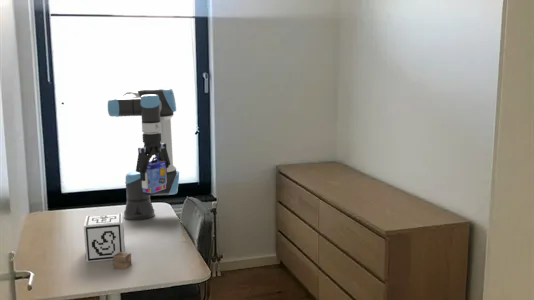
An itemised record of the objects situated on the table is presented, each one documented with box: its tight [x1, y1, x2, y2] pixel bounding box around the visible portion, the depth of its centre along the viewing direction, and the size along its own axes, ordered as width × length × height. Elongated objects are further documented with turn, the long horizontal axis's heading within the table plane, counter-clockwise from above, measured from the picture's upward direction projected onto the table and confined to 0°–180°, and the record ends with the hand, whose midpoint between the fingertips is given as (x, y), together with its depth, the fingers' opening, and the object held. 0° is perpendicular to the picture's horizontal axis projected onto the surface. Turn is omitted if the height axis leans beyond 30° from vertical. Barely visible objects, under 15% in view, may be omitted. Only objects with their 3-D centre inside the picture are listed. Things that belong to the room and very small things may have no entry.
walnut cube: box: [112, 251, 132, 270], centre depth 229 cm, size 5×5×5 cm
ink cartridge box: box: [143, 156, 166, 194], centre depth 243 cm, size 10×6×14 cm, turn 152°
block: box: [83, 212, 126, 263], centre depth 243 cm, size 15×15×15 cm
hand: (154, 185), depth 244 cm, fingers closed on ink cartridge box, 10 cm apart
